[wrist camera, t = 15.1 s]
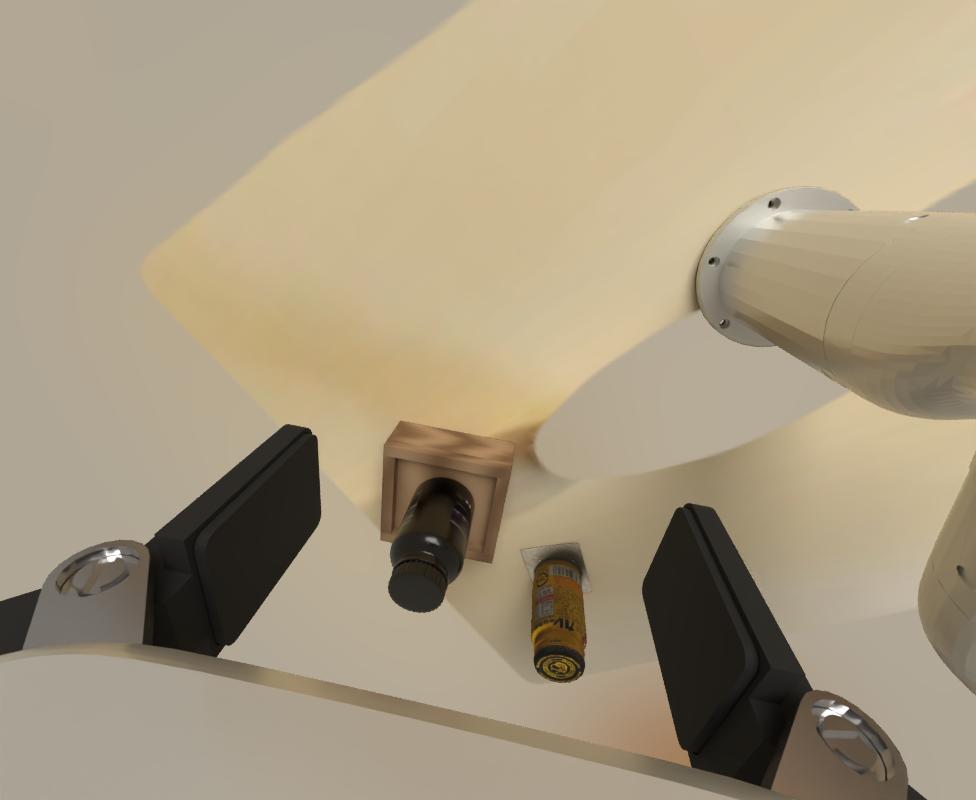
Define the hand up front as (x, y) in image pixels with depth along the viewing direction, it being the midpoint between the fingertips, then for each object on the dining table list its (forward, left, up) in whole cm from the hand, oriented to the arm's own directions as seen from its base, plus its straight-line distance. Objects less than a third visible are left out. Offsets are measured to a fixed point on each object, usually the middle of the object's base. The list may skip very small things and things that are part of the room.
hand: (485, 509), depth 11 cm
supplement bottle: (+5, +23, -26) cm, 35 cm away
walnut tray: (+5, +23, -30) cm, 38 cm away
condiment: (-10, +34, -31) cm, 47 cm away
